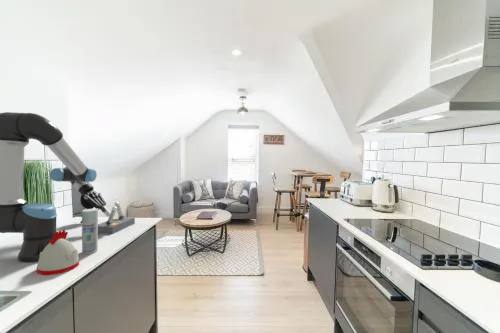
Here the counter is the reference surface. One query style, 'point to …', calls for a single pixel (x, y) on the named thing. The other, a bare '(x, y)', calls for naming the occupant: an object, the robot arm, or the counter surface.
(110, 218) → the lever near
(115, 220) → the switch box
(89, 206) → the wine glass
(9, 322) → the counter surface
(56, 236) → the white chicken hat
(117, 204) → the lever far
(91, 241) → the spray can
